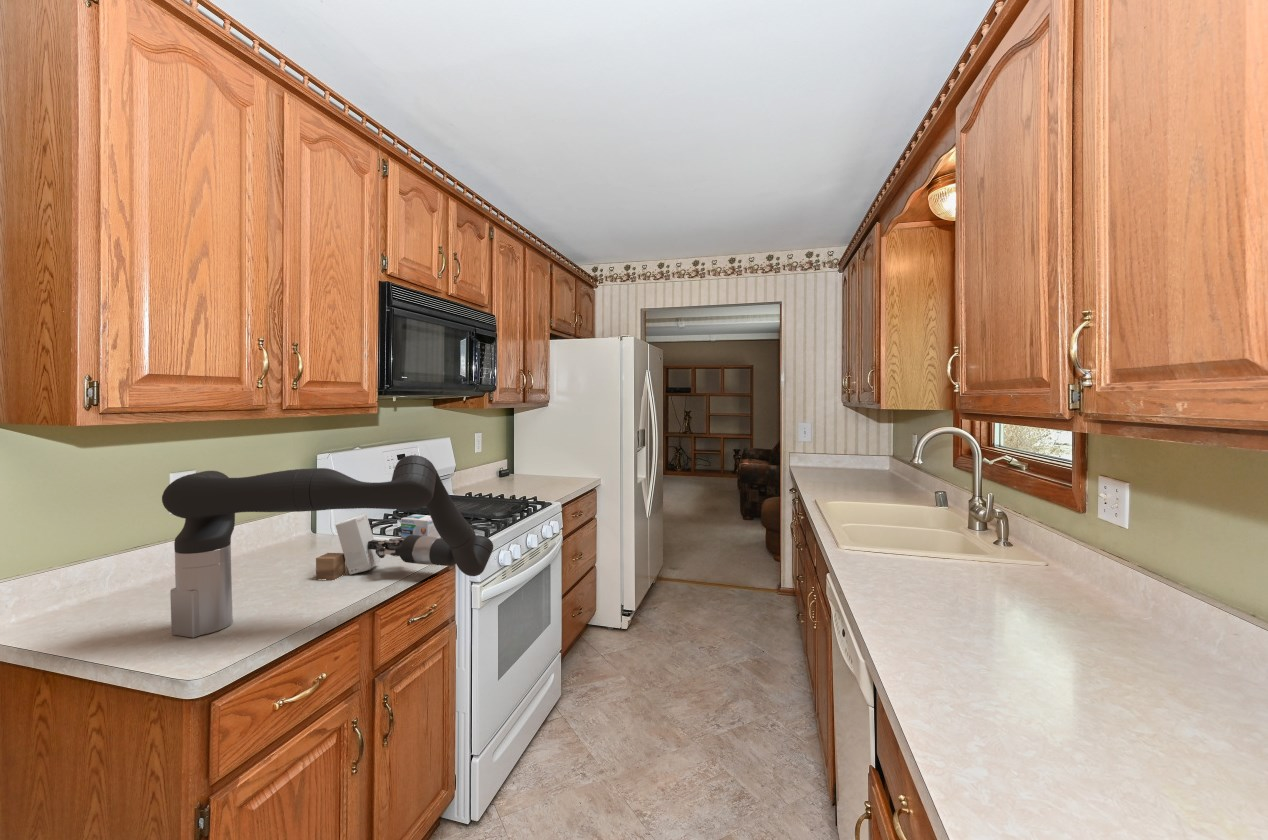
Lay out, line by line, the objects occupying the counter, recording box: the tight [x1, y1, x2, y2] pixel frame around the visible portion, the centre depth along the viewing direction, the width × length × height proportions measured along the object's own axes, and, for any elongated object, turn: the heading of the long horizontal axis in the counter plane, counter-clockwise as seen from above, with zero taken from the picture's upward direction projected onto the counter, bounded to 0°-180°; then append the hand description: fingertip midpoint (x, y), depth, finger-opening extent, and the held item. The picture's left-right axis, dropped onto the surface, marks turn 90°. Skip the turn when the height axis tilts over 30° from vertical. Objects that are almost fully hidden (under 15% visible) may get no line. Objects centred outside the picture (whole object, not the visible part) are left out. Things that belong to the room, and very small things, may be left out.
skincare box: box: [334, 513, 381, 575], centre depth 148 cm, size 8×6×15 cm
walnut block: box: [315, 552, 346, 581], centre depth 143 cm, size 5×5×6 cm
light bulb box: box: [400, 513, 442, 539], centre depth 169 cm, size 11×7×11 cm, turn 73°
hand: (369, 544), depth 148 cm, fingers closed
